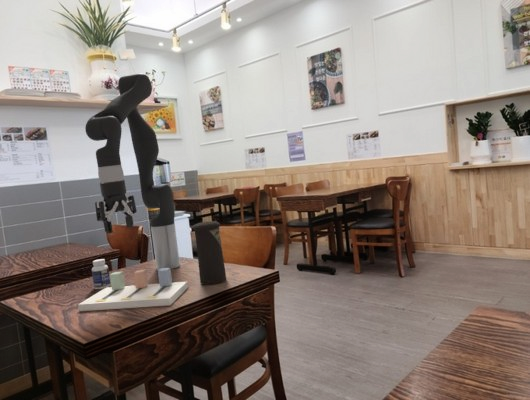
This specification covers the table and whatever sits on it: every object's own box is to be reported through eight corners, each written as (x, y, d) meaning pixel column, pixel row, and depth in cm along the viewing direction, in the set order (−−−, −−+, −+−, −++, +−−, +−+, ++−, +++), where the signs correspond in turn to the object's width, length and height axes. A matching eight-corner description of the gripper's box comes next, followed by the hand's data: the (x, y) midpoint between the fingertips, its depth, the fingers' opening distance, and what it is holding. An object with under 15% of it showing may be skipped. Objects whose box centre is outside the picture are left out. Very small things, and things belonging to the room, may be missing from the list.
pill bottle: (105, 289, 140) (100, 261, 139) (91, 290, 141) (87, 262, 140) (113, 284, 145) (109, 257, 144) (100, 285, 146) (96, 258, 145)
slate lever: (163, 283, 130) (161, 268, 129) (172, 282, 129) (170, 267, 129) (159, 286, 127) (157, 270, 126) (168, 285, 127) (166, 270, 126)
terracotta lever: (139, 285, 131) (137, 270, 131) (148, 284, 131) (146, 269, 130) (135, 288, 128) (133, 272, 128) (144, 287, 128) (142, 272, 127)
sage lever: (116, 287, 132) (114, 272, 132) (125, 286, 132) (123, 271, 131) (111, 290, 129) (109, 274, 129) (120, 289, 129) (118, 274, 128)
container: (229, 281, 132) (222, 220, 130) (202, 287, 129) (195, 225, 127) (222, 275, 140) (215, 218, 138) (197, 281, 137) (189, 222, 135)
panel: (106, 293, 134) (106, 287, 134) (188, 287, 131) (187, 281, 130) (79, 311, 119) (78, 304, 118) (170, 305, 115) (169, 297, 115)
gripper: (120, 179, 137) (128, 226, 139) (85, 183, 125) (93, 235, 127) (137, 177, 134) (144, 225, 136) (102, 182, 121) (110, 235, 123)
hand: (120, 230), depth 131 cm, fingers open, 8 cm apart
